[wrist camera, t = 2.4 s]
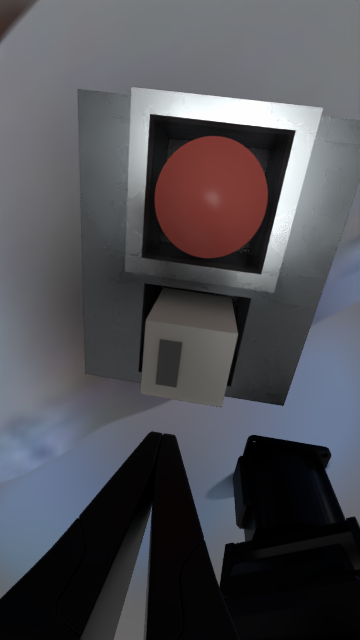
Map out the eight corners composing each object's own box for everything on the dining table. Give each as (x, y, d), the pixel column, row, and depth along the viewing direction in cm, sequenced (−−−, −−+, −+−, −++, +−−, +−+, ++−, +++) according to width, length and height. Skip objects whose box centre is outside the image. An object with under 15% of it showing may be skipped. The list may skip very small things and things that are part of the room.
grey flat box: (337, 140, 15) (394, 115, 10) (270, 368, 20) (287, 417, 16) (110, 114, 15) (65, 80, 11) (107, 342, 21) (78, 383, 16)
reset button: (259, 160, 14) (281, 143, 9) (242, 244, 15) (253, 264, 11) (176, 150, 14) (159, 129, 9) (168, 234, 15) (150, 250, 11)
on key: (231, 297, 16) (238, 335, 12) (219, 356, 18) (221, 408, 14) (163, 287, 17) (145, 321, 12) (157, 346, 18) (140, 395, 14)
